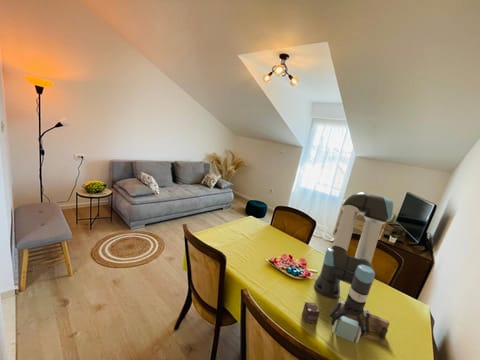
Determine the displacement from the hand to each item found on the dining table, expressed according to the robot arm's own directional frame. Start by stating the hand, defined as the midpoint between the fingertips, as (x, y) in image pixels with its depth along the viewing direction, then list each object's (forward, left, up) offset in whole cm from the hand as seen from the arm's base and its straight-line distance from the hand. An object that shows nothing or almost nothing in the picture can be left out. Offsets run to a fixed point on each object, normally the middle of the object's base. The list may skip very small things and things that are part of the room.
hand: (344, 335), depth 111 cm
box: (-17, +2, 0) cm, 17 cm away
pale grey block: (0, 0, 0) cm, 0 cm away
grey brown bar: (+8, +9, 0) cm, 12 cm away
